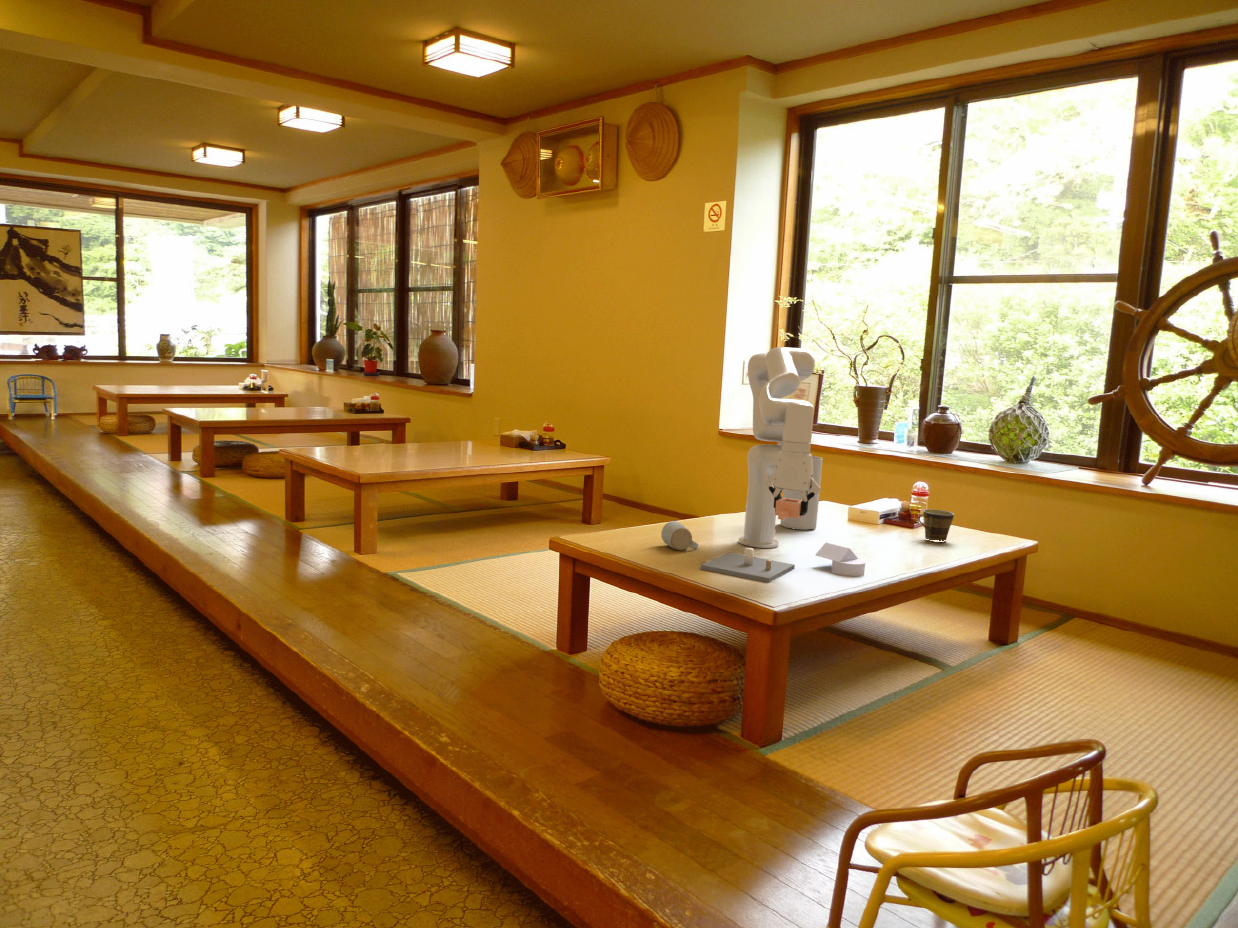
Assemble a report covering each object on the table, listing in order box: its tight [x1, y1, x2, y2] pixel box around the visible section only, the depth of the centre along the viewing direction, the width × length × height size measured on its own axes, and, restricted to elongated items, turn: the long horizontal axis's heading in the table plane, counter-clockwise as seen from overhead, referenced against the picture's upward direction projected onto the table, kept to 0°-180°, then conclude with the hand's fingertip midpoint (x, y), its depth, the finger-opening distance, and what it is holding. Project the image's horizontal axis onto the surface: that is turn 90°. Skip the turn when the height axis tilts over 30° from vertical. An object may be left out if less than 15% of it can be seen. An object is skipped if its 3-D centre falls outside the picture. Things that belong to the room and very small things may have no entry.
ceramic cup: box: [917, 509, 955, 541], centre depth 300 cm, size 13×10×10 cm
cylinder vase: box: [779, 455, 824, 531], centre depth 309 cm, size 12×12×25 cm
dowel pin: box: [766, 559, 772, 570], centre depth 240 cm, size 1×1×2 cm
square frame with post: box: [775, 497, 804, 521], centre depth 237 cm, size 11×6×4 cm, turn 151°
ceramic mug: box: [660, 520, 699, 551], centre depth 265 cm, size 11×8×8 cm
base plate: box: [699, 547, 796, 583], centre depth 244 cm, size 20×20×6 cm
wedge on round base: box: [814, 542, 866, 577], centre depth 250 cm, size 9×7×13 cm
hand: (790, 512), depth 239 cm, fingers closed on square frame with post, 6 cm apart
